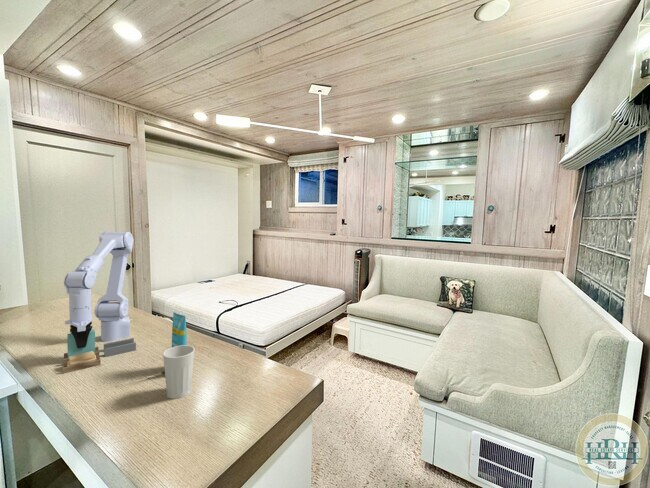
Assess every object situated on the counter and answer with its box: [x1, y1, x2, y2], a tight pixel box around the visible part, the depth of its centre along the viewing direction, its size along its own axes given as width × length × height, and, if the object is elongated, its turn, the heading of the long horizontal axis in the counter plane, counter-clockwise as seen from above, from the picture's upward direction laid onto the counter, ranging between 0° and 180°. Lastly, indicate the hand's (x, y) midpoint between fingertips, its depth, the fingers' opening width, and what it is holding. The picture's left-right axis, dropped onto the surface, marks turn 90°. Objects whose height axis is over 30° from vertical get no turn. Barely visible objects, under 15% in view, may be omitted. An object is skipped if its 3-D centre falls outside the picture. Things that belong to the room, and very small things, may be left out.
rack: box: [62, 346, 101, 375], centre depth 93 cm, size 9×13×3 cm
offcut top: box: [69, 351, 95, 365], centre depth 91 cm, size 6×3×2 cm, turn 140°
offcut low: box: [67, 355, 96, 367], centre depth 91 cm, size 7×4×2 cm, turn 132°
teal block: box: [66, 328, 96, 358], centre depth 95 cm, size 7×3×9 cm, turn 132°
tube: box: [171, 311, 188, 348], centre depth 90 cm, size 7×5×19 cm, turn 60°
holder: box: [103, 337, 137, 358], centre depth 102 cm, size 9×7×4 cm
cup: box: [162, 344, 196, 400], centre depth 80 cm, size 8×8×12 cm
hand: (81, 345), depth 95 cm, fingers closed on teal block, 3 cm apart
